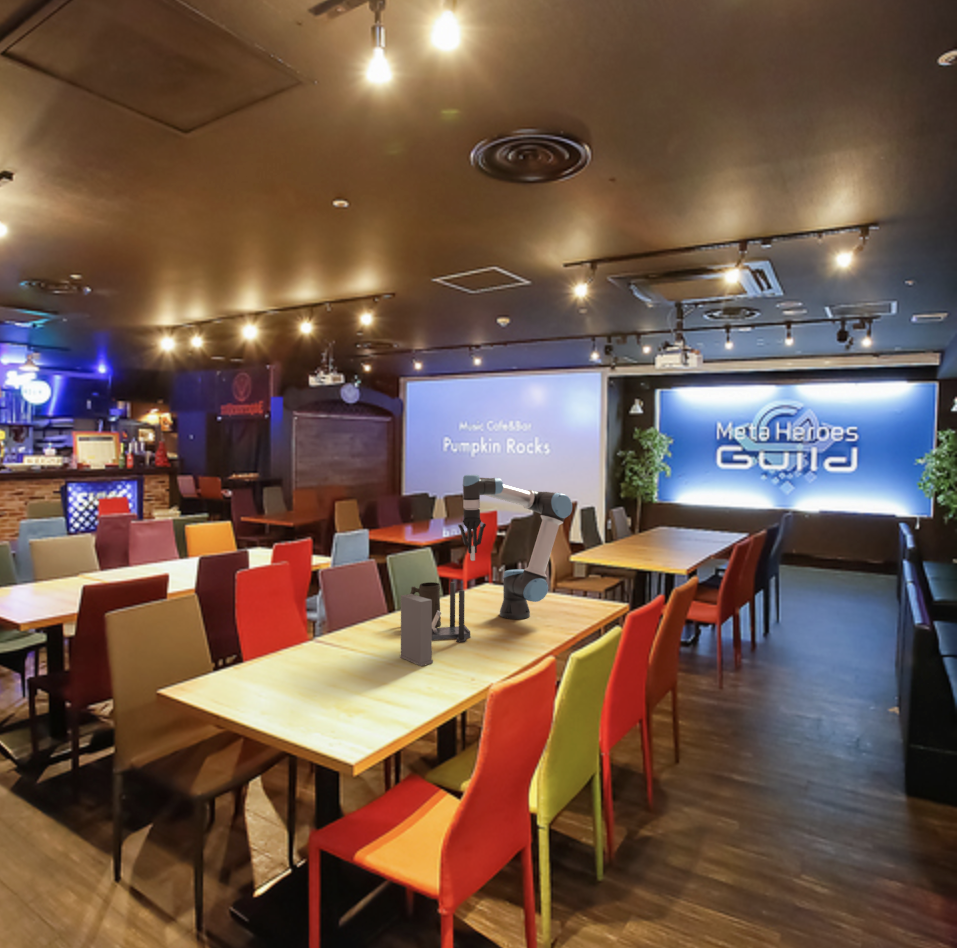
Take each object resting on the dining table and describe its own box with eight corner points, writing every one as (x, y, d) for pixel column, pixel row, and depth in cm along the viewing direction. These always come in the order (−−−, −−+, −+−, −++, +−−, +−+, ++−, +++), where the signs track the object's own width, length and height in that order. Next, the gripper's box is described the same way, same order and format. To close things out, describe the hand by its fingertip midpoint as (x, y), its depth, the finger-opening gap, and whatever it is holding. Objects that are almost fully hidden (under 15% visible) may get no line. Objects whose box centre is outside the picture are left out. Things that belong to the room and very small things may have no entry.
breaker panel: (464, 630, 297) (464, 624, 297) (470, 637, 286) (470, 631, 285) (412, 633, 291) (412, 627, 291) (416, 641, 279) (416, 635, 279)
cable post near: (465, 639, 283) (465, 589, 282) (467, 642, 279) (467, 591, 278) (455, 640, 282) (455, 589, 281) (457, 642, 278) (457, 592, 277)
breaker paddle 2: (436, 629, 288) (427, 614, 287) (438, 631, 284) (428, 616, 283) (433, 631, 288) (424, 616, 286) (435, 634, 284) (425, 619, 283)
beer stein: (444, 622, 310) (441, 581, 309) (440, 628, 299) (438, 585, 299) (412, 623, 312) (410, 582, 311) (408, 629, 301) (405, 587, 300)
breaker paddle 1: (432, 627, 294) (440, 611, 294) (434, 630, 290) (441, 613, 291) (429, 626, 293) (437, 610, 294) (430, 628, 290) (438, 611, 290)
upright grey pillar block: (433, 663, 251) (433, 599, 250) (420, 666, 247) (421, 602, 246) (412, 654, 261) (413, 593, 260) (400, 657, 257) (400, 595, 256)
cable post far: (456, 628, 300) (456, 581, 300) (458, 630, 296) (458, 583, 295) (446, 628, 299) (447, 581, 298) (448, 631, 295) (449, 583, 294)
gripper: (483, 507, 299) (484, 557, 301) (455, 508, 296) (456, 559, 297) (487, 508, 292) (488, 560, 293) (459, 510, 289) (460, 562, 290)
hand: (472, 560), depth 295 cm, fingers closed
